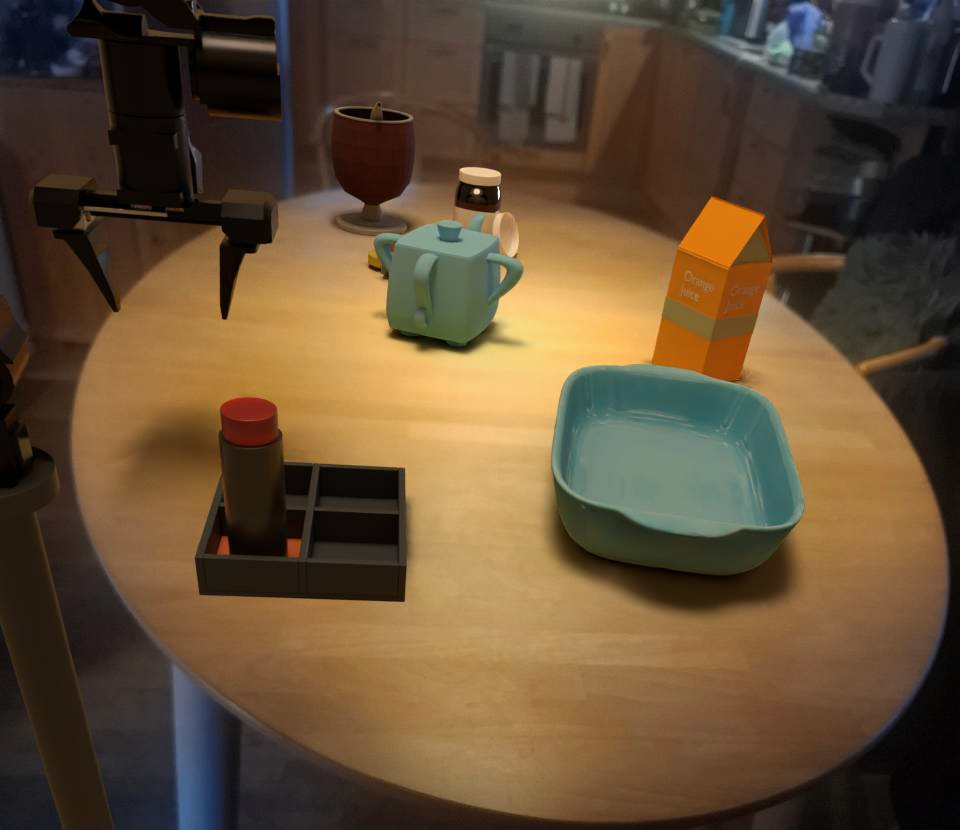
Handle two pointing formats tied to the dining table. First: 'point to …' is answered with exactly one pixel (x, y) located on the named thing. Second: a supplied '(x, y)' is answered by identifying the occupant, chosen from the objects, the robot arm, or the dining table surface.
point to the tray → (319, 539)
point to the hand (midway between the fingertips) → (171, 314)
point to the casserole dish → (672, 469)
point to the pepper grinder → (253, 477)
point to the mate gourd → (372, 163)
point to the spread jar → (485, 206)
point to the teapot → (445, 279)
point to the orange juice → (715, 292)
